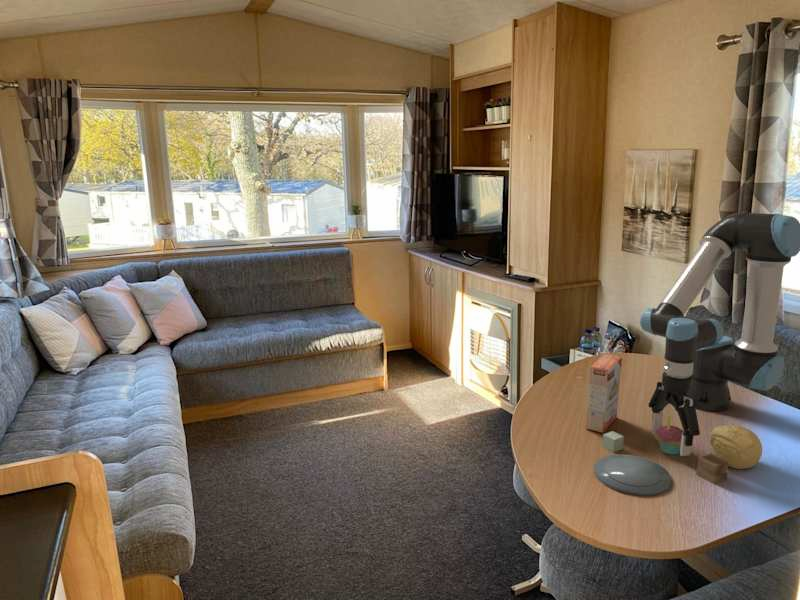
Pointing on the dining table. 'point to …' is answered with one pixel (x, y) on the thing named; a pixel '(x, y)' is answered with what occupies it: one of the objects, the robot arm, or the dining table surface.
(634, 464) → the plate
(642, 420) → the dining table surface
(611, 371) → the cracker box
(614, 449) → the sage block
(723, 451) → the sculpture
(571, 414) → the dining table surface
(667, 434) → the cupcake
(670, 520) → the dining table surface
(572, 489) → the dining table surface
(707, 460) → the walnut block
